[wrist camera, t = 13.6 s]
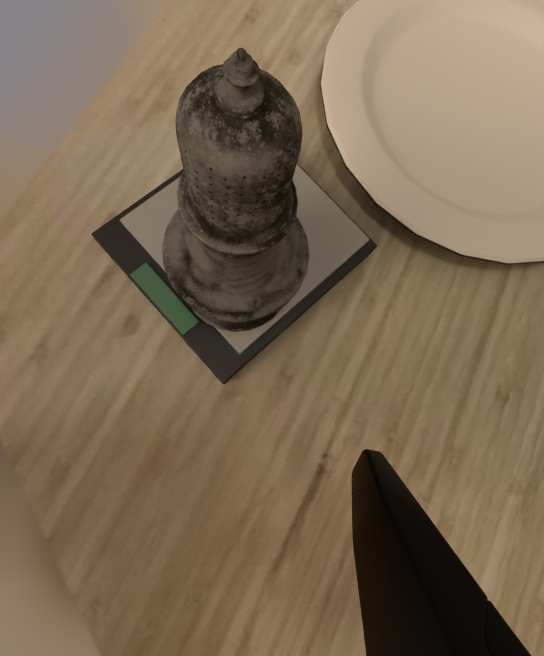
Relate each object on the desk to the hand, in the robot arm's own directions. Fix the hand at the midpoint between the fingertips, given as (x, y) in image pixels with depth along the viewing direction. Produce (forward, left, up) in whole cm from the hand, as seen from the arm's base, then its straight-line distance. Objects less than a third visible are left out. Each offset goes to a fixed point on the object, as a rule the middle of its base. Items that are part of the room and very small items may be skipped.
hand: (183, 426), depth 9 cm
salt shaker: (+5, +4, -8) cm, 11 cm away
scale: (+7, +6, -10) cm, 13 cm away
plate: (+24, +3, -10) cm, 27 cm away
